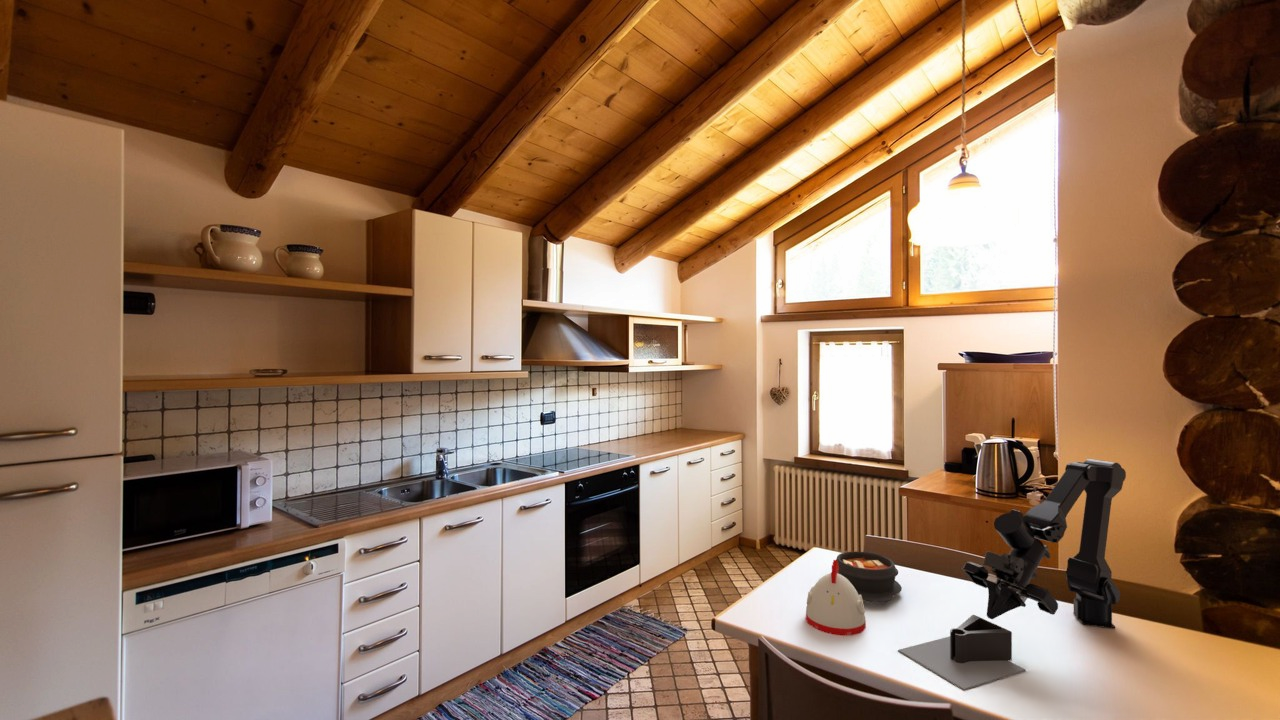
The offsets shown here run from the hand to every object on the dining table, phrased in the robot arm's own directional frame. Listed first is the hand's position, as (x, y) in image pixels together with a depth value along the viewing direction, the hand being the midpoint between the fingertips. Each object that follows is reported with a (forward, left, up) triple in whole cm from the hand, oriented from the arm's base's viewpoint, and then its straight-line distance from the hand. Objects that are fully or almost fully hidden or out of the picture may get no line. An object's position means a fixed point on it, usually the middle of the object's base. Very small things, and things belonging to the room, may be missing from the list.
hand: (989, 617), depth 124 cm
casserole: (+24, -27, -8) cm, 37 cm away
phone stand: (-1, -1, -4) cm, 4 cm away
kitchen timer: (+32, -4, -8) cm, 33 cm away
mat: (+7, +6, -8) cm, 12 cm away
